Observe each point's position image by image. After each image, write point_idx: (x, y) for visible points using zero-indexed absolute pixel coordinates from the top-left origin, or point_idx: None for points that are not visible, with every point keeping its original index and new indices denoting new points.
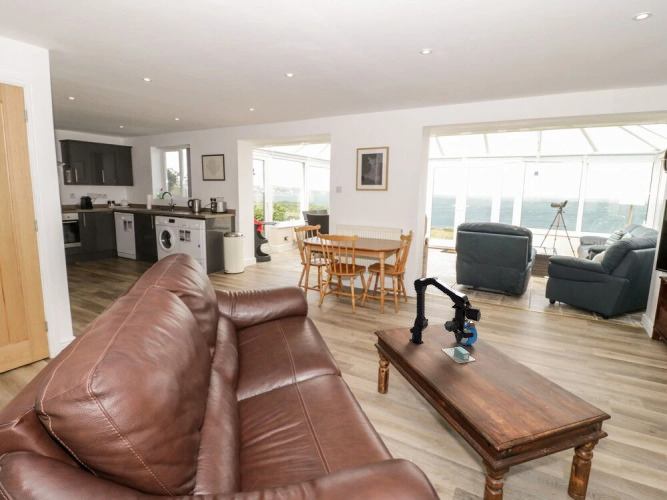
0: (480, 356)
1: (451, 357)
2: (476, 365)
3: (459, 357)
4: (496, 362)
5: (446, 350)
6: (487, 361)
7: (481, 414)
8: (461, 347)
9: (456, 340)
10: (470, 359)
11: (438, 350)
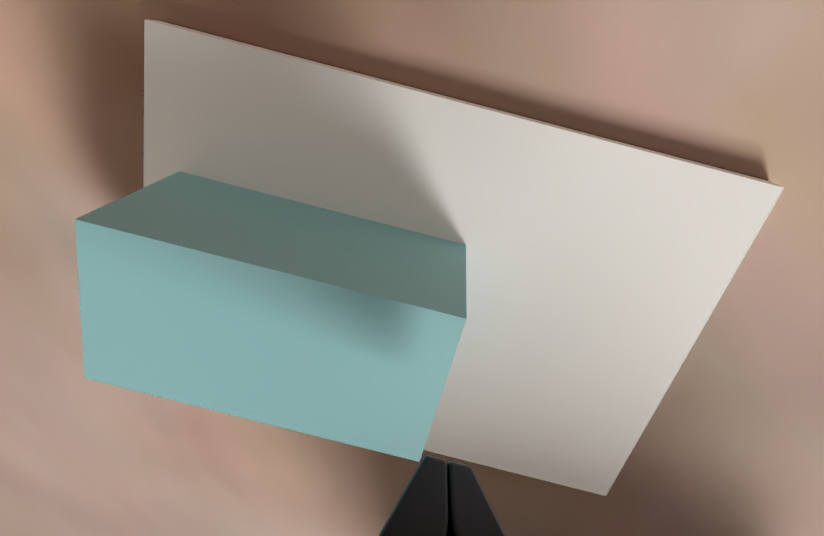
0: (249, 516)
1: (388, 82)
2: (23, 268)
3: (277, 202)
4: (58, 532)
5: (665, 235)
6: (104, 478)
7: None
8: (376, 443)
9: (474, 534)
10: None
11: (815, 108)
